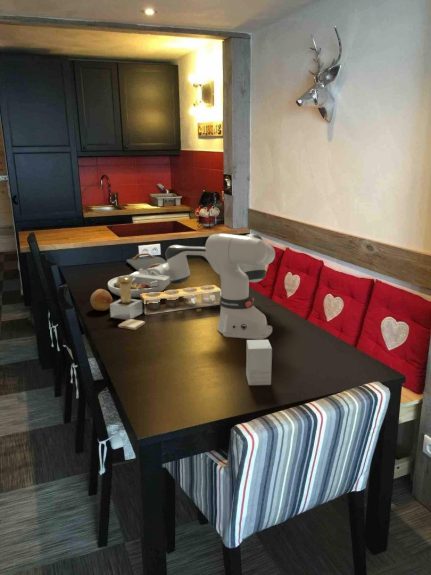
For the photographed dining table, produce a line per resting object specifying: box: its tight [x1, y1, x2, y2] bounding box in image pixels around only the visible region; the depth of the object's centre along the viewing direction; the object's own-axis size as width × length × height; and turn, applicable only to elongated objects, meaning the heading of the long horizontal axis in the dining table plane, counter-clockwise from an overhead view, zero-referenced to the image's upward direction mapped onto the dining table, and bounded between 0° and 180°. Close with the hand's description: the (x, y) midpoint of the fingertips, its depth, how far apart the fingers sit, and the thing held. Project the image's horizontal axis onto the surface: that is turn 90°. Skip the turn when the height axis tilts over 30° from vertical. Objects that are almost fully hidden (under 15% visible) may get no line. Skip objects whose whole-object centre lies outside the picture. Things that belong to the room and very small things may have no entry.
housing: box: [109, 298, 143, 321], centre depth 214 cm, size 10×10×6 cm
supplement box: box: [245, 339, 273, 386], centre depth 153 cm, size 7×7×13 cm
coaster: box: [117, 318, 146, 331], centre depth 202 cm, size 8×8×1 cm
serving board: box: [125, 252, 168, 271], centre depth 298 cm, size 39×23×6 cm, turn 24°
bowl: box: [107, 274, 166, 299], centre depth 250 cm, size 30×30×8 cm
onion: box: [89, 288, 113, 312], centre depth 219 cm, size 10×10×10 cm
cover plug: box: [118, 275, 132, 305], centre depth 212 cm, size 6×6×17 cm
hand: (140, 283), depth 222 cm, fingers open, 8 cm apart
